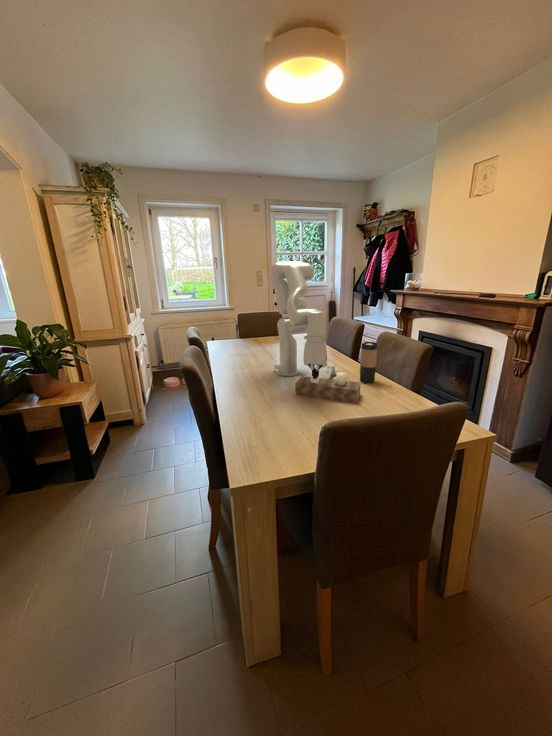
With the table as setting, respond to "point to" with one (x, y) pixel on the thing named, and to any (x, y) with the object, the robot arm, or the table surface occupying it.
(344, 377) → the peg
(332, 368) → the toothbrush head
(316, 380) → the peg
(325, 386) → the walnut block
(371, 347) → the travel mug
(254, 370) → the table surface
